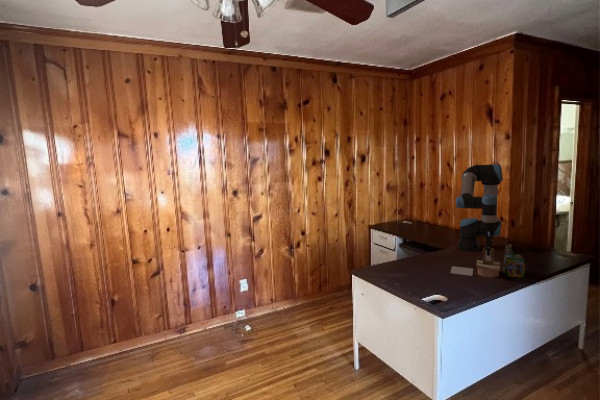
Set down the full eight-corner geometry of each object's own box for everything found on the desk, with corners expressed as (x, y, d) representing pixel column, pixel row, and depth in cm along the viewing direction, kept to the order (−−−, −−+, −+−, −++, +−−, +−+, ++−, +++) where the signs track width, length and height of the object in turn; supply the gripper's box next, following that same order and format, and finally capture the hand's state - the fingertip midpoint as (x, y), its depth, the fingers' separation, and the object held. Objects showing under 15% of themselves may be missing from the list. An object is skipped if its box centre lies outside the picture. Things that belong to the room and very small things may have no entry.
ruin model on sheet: (509, 259, 216) (510, 245, 214) (504, 258, 217) (504, 245, 216) (512, 255, 224) (512, 241, 223) (507, 254, 226) (507, 241, 225)
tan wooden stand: (476, 261, 198) (477, 245, 197) (499, 264, 192) (500, 247, 191) (476, 267, 188) (476, 250, 187) (500, 270, 182) (500, 252, 181)
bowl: (477, 270, 198) (477, 262, 197) (498, 272, 193) (498, 264, 192) (477, 276, 189) (477, 267, 188) (499, 279, 183) (499, 270, 182)
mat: (452, 267, 206) (452, 266, 206) (473, 269, 200) (473, 268, 200) (450, 273, 195) (450, 273, 195) (472, 276, 189) (472, 275, 189)
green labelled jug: (524, 278, 182) (525, 253, 180) (506, 277, 186) (506, 252, 184) (520, 272, 191) (521, 248, 189) (502, 271, 194) (503, 248, 192)
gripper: (482, 217, 198) (481, 251, 201) (481, 225, 178) (480, 262, 181) (496, 218, 195) (495, 252, 197) (496, 226, 175) (496, 264, 177)
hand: (488, 257), depth 189 cm, fingers open, 11 cm apart
